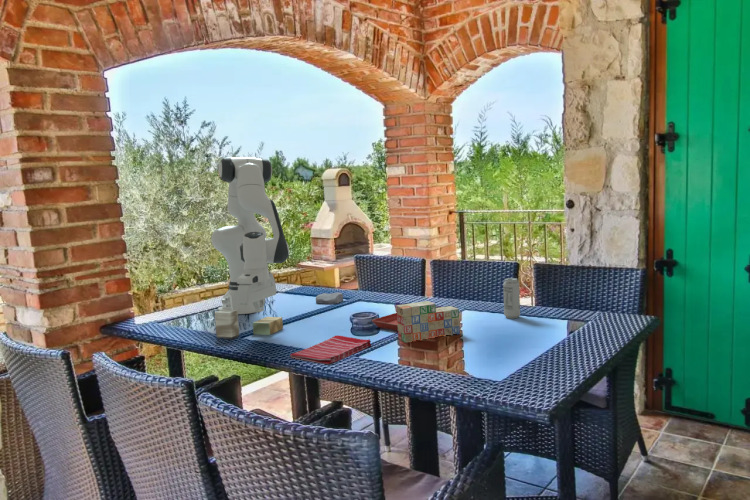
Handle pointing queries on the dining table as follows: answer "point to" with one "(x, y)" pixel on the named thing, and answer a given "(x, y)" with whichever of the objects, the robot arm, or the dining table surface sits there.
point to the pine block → (227, 324)
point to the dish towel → (332, 349)
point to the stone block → (329, 298)
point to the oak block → (267, 325)
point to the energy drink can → (511, 298)
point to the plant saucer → (387, 322)
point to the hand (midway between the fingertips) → (259, 311)
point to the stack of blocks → (426, 321)
